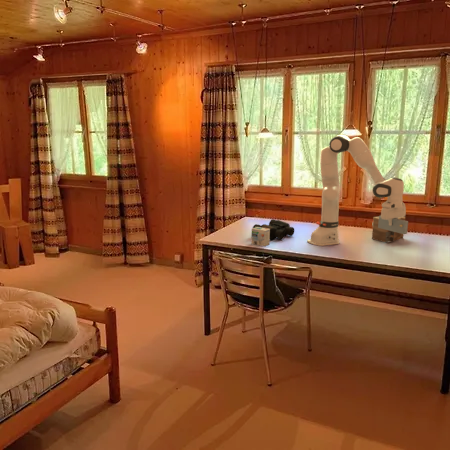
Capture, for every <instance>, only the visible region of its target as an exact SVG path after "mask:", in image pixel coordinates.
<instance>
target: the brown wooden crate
mask: <svg viewBox="0 0 450 450" xmlns="http://www.w3.org/2000/svg"><path fill="white" fill-rule="evenodd" d="M379 216H380V215H379ZM379 216H373V217H372V220H373V221H372V223H373V226H372V233H371V238H372V240H375V241H380V242H383V243H390V242H395V241H399V240H404V235H405V234H401V233H397V232H393V231H389V230H385V229H381V228H378V222H379ZM398 219H400V220H405V221H406V216H405V217H400V218H398Z"/></svg>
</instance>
